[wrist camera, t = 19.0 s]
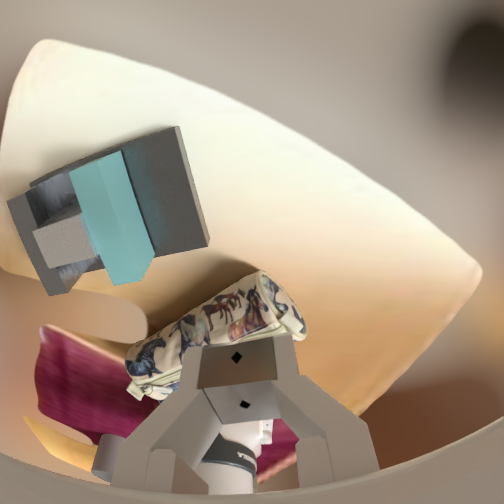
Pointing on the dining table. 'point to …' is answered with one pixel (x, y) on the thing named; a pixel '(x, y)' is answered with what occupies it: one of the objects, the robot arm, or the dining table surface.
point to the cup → (106, 456)
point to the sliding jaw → (113, 217)
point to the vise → (146, 194)
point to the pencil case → (212, 331)
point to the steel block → (65, 238)
